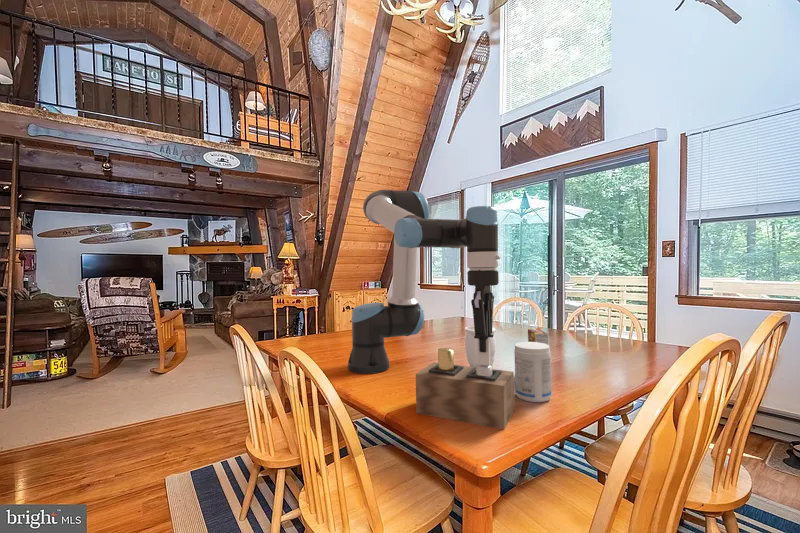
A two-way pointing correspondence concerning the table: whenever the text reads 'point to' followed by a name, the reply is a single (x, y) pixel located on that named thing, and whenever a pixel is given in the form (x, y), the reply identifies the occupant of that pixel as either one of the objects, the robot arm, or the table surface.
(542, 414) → the table surface
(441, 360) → the brass peg
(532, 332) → the candy box
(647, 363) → the table surface
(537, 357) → the supplement tub
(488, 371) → the steel peg
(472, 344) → the jar
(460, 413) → the walnut block
